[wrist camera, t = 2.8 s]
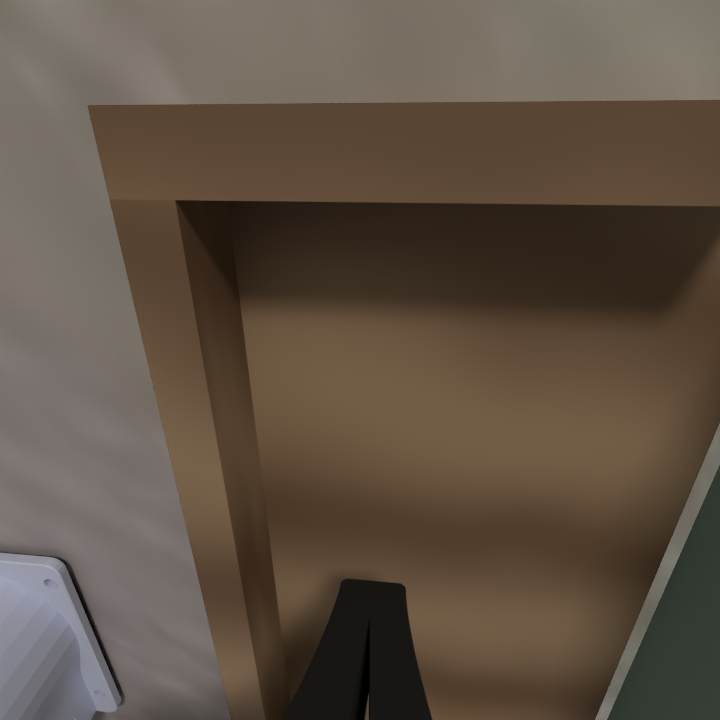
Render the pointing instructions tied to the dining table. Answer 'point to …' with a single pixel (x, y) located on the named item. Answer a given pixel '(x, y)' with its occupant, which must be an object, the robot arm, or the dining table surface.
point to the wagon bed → (427, 373)
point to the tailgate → (682, 634)
